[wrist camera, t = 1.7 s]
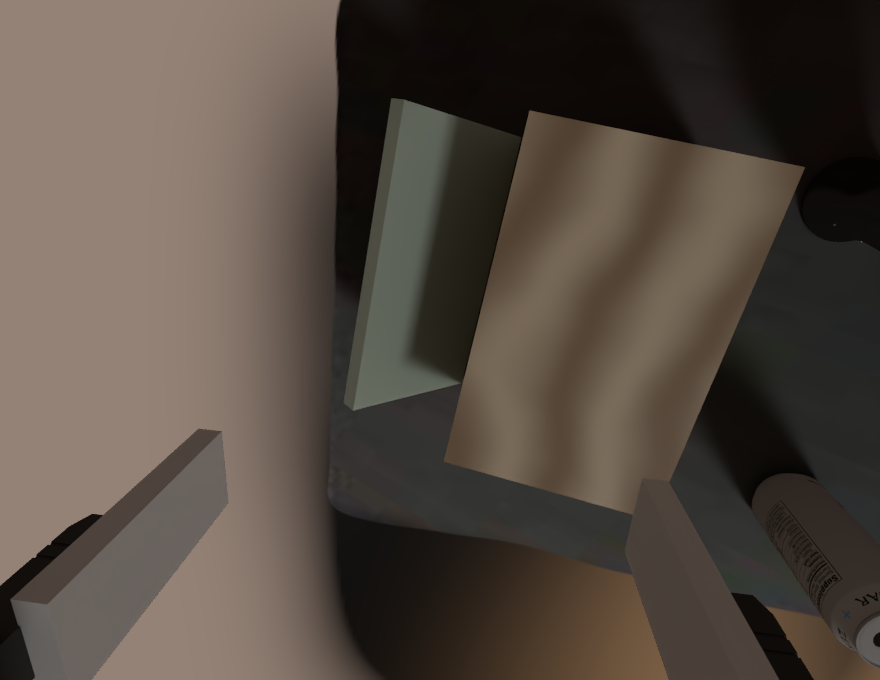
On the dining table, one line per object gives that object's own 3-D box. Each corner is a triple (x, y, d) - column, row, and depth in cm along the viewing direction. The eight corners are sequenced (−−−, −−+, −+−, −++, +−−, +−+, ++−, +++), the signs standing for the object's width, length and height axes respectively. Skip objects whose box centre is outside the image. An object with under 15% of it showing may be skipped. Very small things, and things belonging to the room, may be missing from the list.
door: (521, 137, 38) (404, 99, 29) (461, 382, 45) (353, 410, 36) (499, 133, 39) (381, 96, 31) (444, 372, 46) (336, 397, 38)
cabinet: (710, 171, 38) (805, 167, 25) (617, 421, 45) (652, 520, 32) (529, 133, 39) (529, 110, 26) (468, 382, 47) (443, 461, 33)
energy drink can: (817, 526, 45) (947, 683, 31) (744, 523, 46) (838, 674, 32) (826, 468, 43) (969, 606, 29) (750, 466, 44) (852, 599, 30)
